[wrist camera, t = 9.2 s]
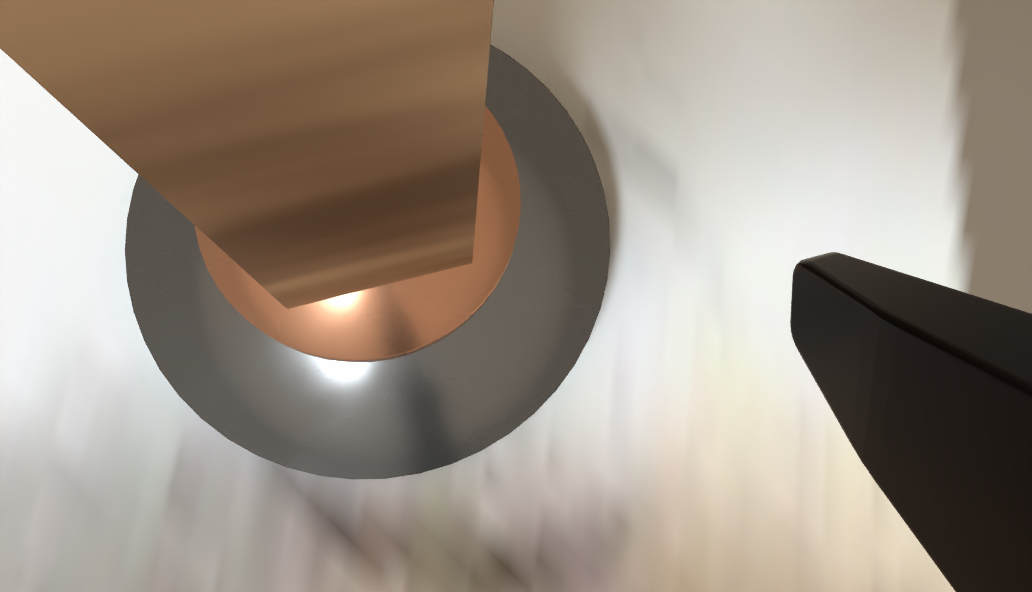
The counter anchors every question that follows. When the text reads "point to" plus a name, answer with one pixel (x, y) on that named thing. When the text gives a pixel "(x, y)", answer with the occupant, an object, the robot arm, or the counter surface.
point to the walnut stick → (284, 123)
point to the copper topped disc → (392, 315)
